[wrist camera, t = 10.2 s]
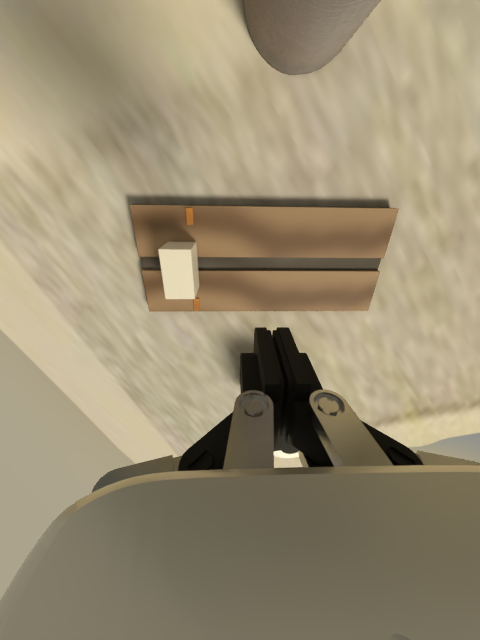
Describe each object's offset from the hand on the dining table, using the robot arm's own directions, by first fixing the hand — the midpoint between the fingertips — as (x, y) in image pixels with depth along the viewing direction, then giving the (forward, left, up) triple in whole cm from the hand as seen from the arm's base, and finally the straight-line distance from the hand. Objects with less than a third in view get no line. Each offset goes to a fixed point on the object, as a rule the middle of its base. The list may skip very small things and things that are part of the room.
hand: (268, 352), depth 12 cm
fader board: (0, +2, -19) cm, 19 cm away
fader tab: (0, -7, -17) cm, 19 cm away
